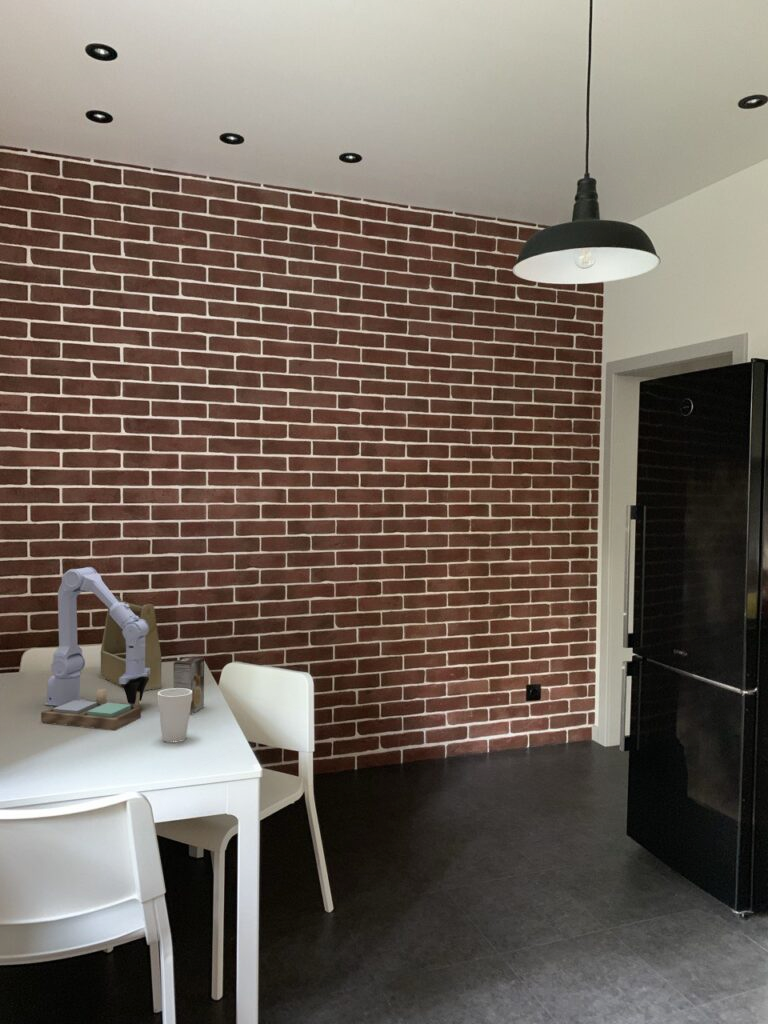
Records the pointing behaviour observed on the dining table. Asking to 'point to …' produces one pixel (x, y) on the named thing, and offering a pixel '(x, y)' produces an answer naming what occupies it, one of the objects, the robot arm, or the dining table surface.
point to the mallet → (113, 708)
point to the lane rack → (90, 718)
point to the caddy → (116, 648)
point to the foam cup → (174, 713)
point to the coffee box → (191, 679)
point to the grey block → (82, 704)
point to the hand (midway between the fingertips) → (134, 701)
